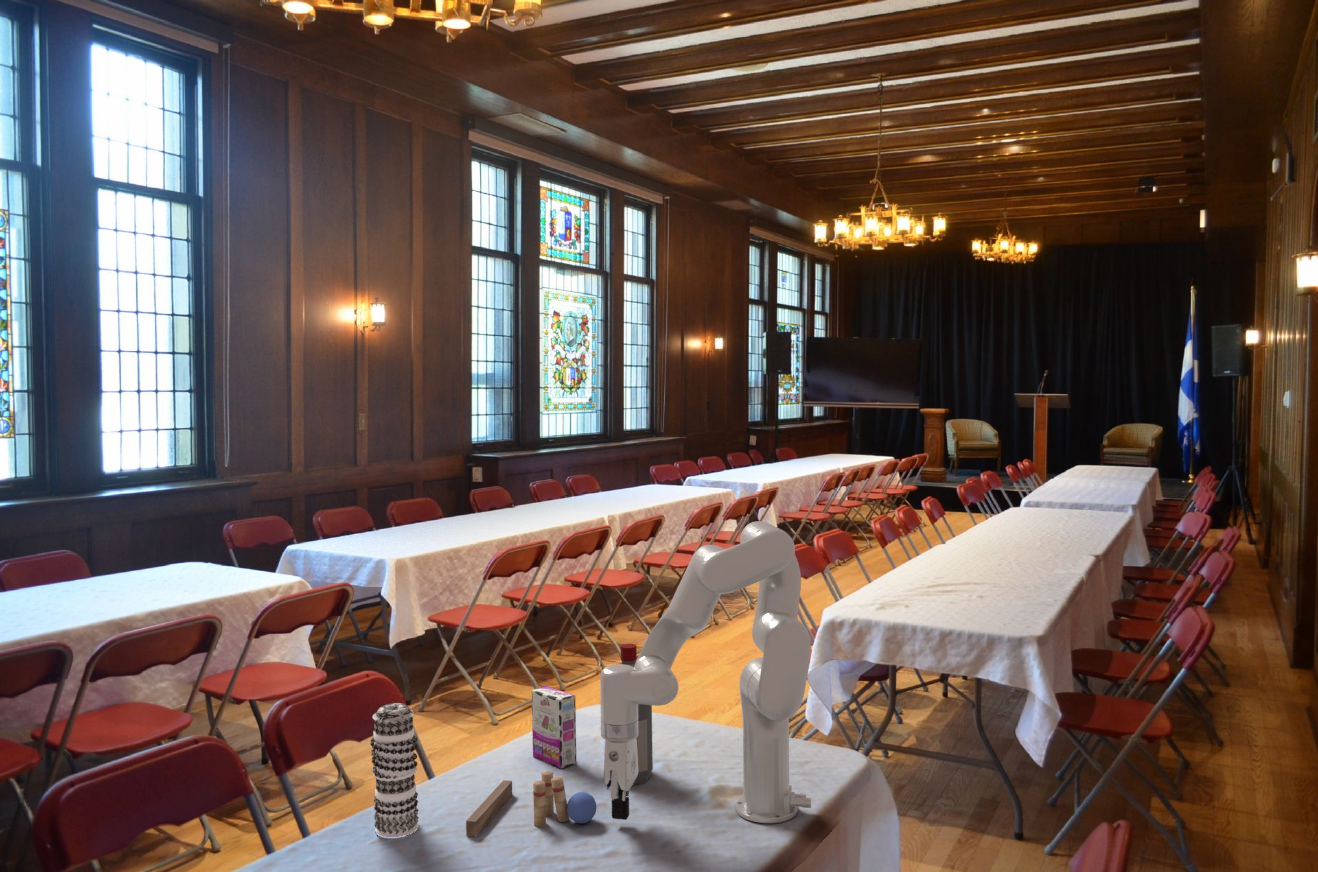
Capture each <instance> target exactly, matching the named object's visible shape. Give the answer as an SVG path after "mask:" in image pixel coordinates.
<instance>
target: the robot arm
mask: <svg viewBox="0 0 1318 872" xmlns="http://www.w3.org/2000/svg"><path fill="white" fill-rule="evenodd" d="M795 551H796V546H795V543H794V540H793V538H792V537H791V536H790V535H789V534H788V533H787V532H786V531H785V530H783V529H781V528H779V527H776V526H775V525H773V524H772V523H769V522H765V521H759V520H758V521H752V522H750V523H748V524H747V525H746V526H745V527H743V529H742V531H741V534H740V538H739V543H738V544H736V545H734V546H730V547H728V548H723V547H721V546H719V545H716V544H706V545H705V544H704V545H703V546H702V545H701V546H700V547H699V548H698V549H697V550H696V551H695V552H694V553H693V555H692V557H691V558H690V561H689V563H688V564H687V565H688V566H687V568H686V570H685V572H684V574H683V576H682V578H681V580H680V583H678V584H679V585H678V586H677V589H676V591H675V592H674V595H673V597H672V599H671V601H670V604H669V605H668V607H667V608H666V611H665V612H664V613H663V614H662V615H661V617H660V619H659V620H658V622H656V623H655V625H654V626H653V627H652V629H651V631H650V633H649V634H648V636H647V638H646V640H645V642H644V644H643V646H642V648H641V650H640V653H639V655H638V656H637V660H636V664H635V667H632V666H629V665H624V664H622V663H618V664H611V665H608V666H605V667H604V668H603V669H602V670H601V672H600V683H599V684H600V687H599V688H600V736H601V738H602V739H603V740H604V755H603V756H604V761H603V782H604V788H605V789H606V790H608V791H609V790H610V799H611V818H612V819H613V820H614V819H615V820H624V821H626V820H628V818H629V816H630V796H629V794H630V789H631V787H632V786H633V785H634V784H633V783H634V781H635V779H636V777H637V775H638V752H637V739H636V738H637V737H638V704H644V705H652V707H654V706H655V707H656V706H657V707H658V706H659V707H660V706H665V705H668V704H669V703H670V704H671V703H672V702H673V701H674V700H675V699H676V698H677V695H678V693H679V690H680V689H679V687H680V686H679V681H678V679H677V677H676V675H675V673H674V672H673V671H672V670H671V668H672V667H673V664H674V662H675V660H676V658H677V656H678V653H679V652H680V650H681V648H682V647H683V646H684V644H685V643H686V642H687V641H688V640H689V639H690V638H691V637H693V636H694V635H696V634H699V633H701V632H702V631H703V630H705V629H706V627H707V626H708V624H709V621H710V619H711V617H712V615H713V613H714V610H715V608H716V607H717V604H718V602H719V600H720V597H721V595H728V594H731V593H735V592H737V591H741V590H742V589H745V588H746V587H750V586H751V585H754V584H756V583H759V584H758V595H757V601H756V607H755V613H754V617H753V619H754V620H753V624H752V630H751V636H752V637H751V638H752V640H753V641H752V642H753V643H754V644H755V646H756V647H757V648H758V650H760V651H761V652H762V653H763V655H762V657H757V658H754V659H752V660H750V661H749V662H748V663H747V664H746V665H744V667H743V669H742V671H741V672H740V677H739V695H740V704H741V713H742V715H741V717H742V777H743V778H742V780H743V781H742V785H743V787H742V789H743V791H742V792H743V795H742V796H741V797H740V798H739V799H738V800H737V801H735V802H736V804H735V811H736V812H737V814H738V815H739V816H740V817H741V818H742V819H745V820H747V821H751V822H754V823H761V824H777V823H784V822H787V821H790V820H791V819H793V818H794V817H795V816H796V815H797V813H798V807H799V808H807V809H812V798H811V797H807V793H795V791H793V785H791V784H790V721H789V719H791V718H793V717H794V716H795V715H796V714H797V712H799V710H800V709H801V706H802V703H803V701H804V695H805V690H806V685H807V681H808V680H807V679H808V673H809V667H810V661H811V656H812V655H811V654H812V643H811V636H810V633H809V631H808V629H807V628H806V626H805V625H804V624H803V622H801V621H800V620H799V619H798V616H799V605H800V600H801V588H802V576H801V569H800V564H799V561H798V558H797V556H796V552H795Z"/></svg>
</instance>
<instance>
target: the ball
mask: <svg viewBox="0 0 1318 872" xmlns="http://www.w3.org/2000/svg"><path fill="white" fill-rule="evenodd" d="M567 813H568V815H569V818H570V819H571V820H572V821H573V822H575V823H577V824H586V823H589V822H591V820H592V819H593V818H594V817H595V815H596V813H597V803H596V800H595V798H594V796H592V794H590V793H588V792H585V791H579V792H578V791H577V792H576V793H574V794H573V795H571V797H570V798H568V801H567Z"/></svg>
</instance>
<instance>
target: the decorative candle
mask: <svg viewBox="0 0 1318 872" xmlns="http://www.w3.org/2000/svg"><path fill="white" fill-rule="evenodd" d="M414 715H415V711H414V710H413V709H411V708H410V707H409V706H408V705H407V704H404V703H400V702H395V703H394V702H393V703H387V704H385V705H382V706H380V707H379V708H378V709H377V712H375V713H374V714H372V719H373V721H374V723H373V725H374V726H373V729H374V730H373V735H372V736H373V737H372V738H370V746H371V748H372V749H371V763H372V764H373V767H372V775H373V777H374V778H375V789H374V795H375V796H374V799H373V802H374V803H375V804H374V807H373V810H374V811H375V812H374V815H373V818H374V820H375V821H374V827H375V830H374V832H375V831H376V832H379V833H378V834H379V835H382V836H386V837H399V836H403V835H408V834H410V833H412V832H414V831H415V830H416V829H417V828H418V829H419V818H420V817H419V816H418V814H419V811H420V810H419V809H418V803H419V800H418V795H419V793H418V792H417V784H416V780H415V779H416V777H415V776H416V775H415V774H416V773H417V770H418V768H417V767H418V762H417V761H416V760H417V758H418V754H417V753H415V751H416V750H417V749H418V747H419V745H418V744H417V743H416V742H417V741H418V736H416V735H415V727H414ZM418 829H417V830H418ZM415 832H416V831H415ZM415 832H414V833H415Z"/></svg>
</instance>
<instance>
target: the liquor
mask: <svg viewBox="0 0 1318 872" xmlns="http://www.w3.org/2000/svg"><path fill="white" fill-rule="evenodd" d="M637 659H638V656H637V645H636V644H634V643H623V644H620V660H621V664H624V665H629V666H632V667H635V664H636V661H637ZM636 739H637V752H638V775H637V777H636V779H635V781H634V783H633V784H632V785H635V786H636V785H640V784H645V783H647V781H648V779H649V778H650V776H651V774H652V773H653V772H652V771H653V769H654V767H653V761H654V760H653V758H654V757H653V705H644V704H638V737H637V738H636Z"/></svg>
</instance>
